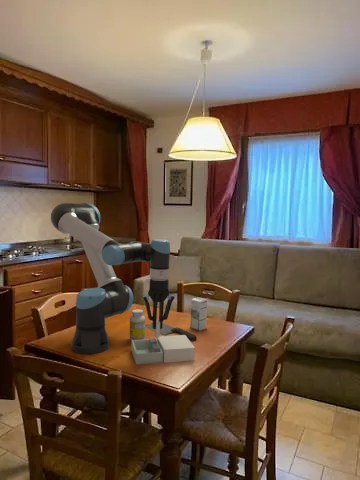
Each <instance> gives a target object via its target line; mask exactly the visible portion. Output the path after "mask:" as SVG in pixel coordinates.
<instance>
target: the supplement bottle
mask: <svg viewBox="0 0 360 480" xmlns="http://www.w3.org/2000/svg"><path fill="white" fill-rule="evenodd" d="M131 314H132V315H131V316H130V317H129V340H130V341H131V342H132V340H146V332H145V331H146V326H145V325H146V317H145V316H144V315H143V314H144V310H143V309H139V308H137V309H132V311H131Z"/></svg>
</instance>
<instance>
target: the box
mask: <svg viewBox="0 0 360 480" xmlns="http://www.w3.org/2000/svg"><path fill="white" fill-rule="evenodd" d="M156 341H157V339H156ZM157 344H158V342H157ZM158 345H159V344H158ZM130 346H131V353H132V356H133V359H134V363H135V365H137V366H138V365H148V364H149V365H150V364H163V363H164V362H163V352H162V350H161V348H160V352H152V353H150V351H149V338H148V339H146V338H145V339H144V340H132V341H131V345H130ZM159 347H160V346H159Z"/></svg>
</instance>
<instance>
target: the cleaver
mask: <svg viewBox="0 0 360 480" xmlns="http://www.w3.org/2000/svg"><path fill="white" fill-rule="evenodd" d="M152 325H153V322H151V323H148V324H145V328H147V329H149V330H150V331H152V332H154V333H155V329H153V327H152ZM160 334H161V335H162V336H169V335H171V334H178V335H186V337H187V338H188V339H189V341H190V342H195V341H197V339H198V337H197V336H196V335H195V334H193V333H191V332H189V331H187V330H185V329H183V328H180V327H173V326H171V325H168V324H165V323H163V325H162V329H160Z"/></svg>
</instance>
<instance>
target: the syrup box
mask: <svg viewBox="0 0 360 480" xmlns="http://www.w3.org/2000/svg"><path fill="white" fill-rule="evenodd" d="M190 301H191V302H190V304H191V305H190V329H192V330H196V331H198V332H199V331H204V330H206V329H207V318H208V316H207V314H208V312H207V311H208V299H206V298H204V297H203V298H202V297H199V296H198V297H194V298H191V300H190Z"/></svg>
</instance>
